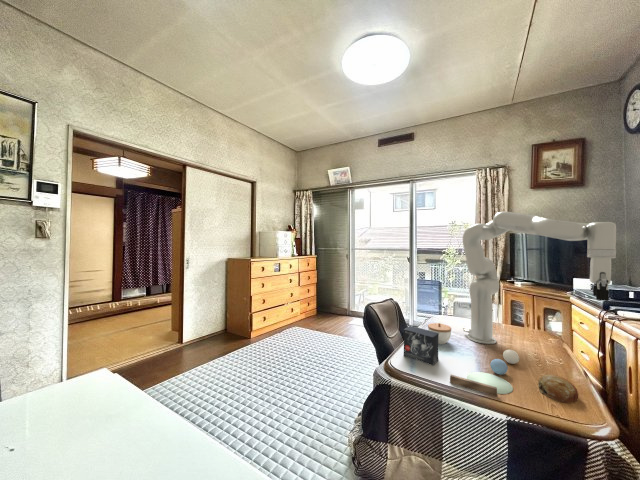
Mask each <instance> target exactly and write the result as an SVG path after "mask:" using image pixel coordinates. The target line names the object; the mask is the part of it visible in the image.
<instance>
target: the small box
mask: <svg viewBox="0 0 640 480" xmlns="http://www.w3.org/2000/svg"><path fill="white" fill-rule="evenodd" d="M438 335H439V333H437V332H433V331H429V330H428V329H425V328H421V327H417V326H413V325H409V326H407V327H406V328H404V329H403V356H404V357H408V358H410V359H413V360H416V361H419V362H421V363H425V364H428V365H431V366H434V365H435V364H436V363H437V362H438V361H439V344H438Z"/></svg>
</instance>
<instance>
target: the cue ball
mask: <svg viewBox="0 0 640 480" xmlns="http://www.w3.org/2000/svg"><path fill="white" fill-rule="evenodd" d="M502 357H503V359H504V361H505V362H506V363H508V364H512V365H514V364H515V365H516V364H518V363H519V361H520V356H519V354H518V353H517V352H516V351H515V350H513V349H506V350H504V351H503V354H502Z"/></svg>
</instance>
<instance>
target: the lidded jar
mask: <svg viewBox="0 0 640 480" xmlns="http://www.w3.org/2000/svg"><path fill="white" fill-rule="evenodd" d="M427 327H428V328H427V330H429V331H433V332H437V333H439V335H438V345H445V344H447V342H449V340H450V339H451V335H452V327H451V326H449V325H447V324H444V323H441V322H438V323H437V322H435V323H434V322H432V323H428V325H427Z"/></svg>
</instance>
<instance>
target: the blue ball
mask: <svg viewBox="0 0 640 480" xmlns="http://www.w3.org/2000/svg"><path fill="white" fill-rule="evenodd" d="M490 369H491V370H492V372H493V373H495V374H496V375H505V374H507V372H508V365H507V362H506V361H505V360H502V359H501V358H494V359H492V360H491V361H490Z"/></svg>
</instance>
